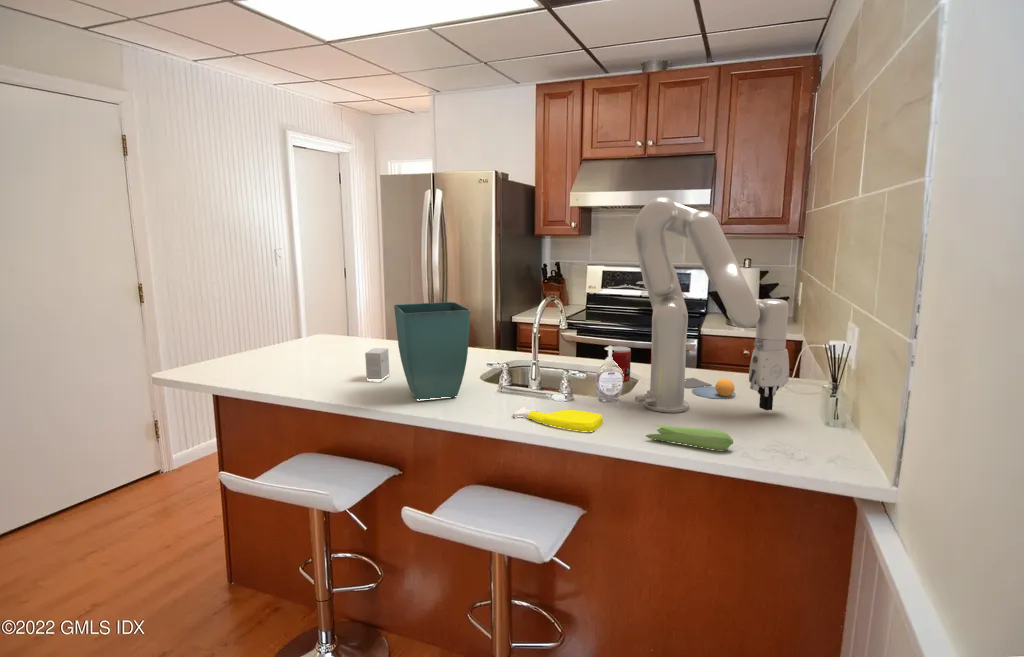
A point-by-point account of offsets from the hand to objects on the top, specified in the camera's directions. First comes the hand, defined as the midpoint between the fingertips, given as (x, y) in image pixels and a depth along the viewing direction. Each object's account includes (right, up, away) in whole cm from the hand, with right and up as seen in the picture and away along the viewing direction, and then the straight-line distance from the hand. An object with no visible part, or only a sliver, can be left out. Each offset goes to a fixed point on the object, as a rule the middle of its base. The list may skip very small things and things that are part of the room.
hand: (765, 408), depth 154 cm
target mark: (-7, +2, +21) cm, 22 cm away
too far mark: (-11, +4, +32) cm, 34 cm away
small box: (-118, +4, +41) cm, 125 cm away
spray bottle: (-59, -3, -4) cm, 59 cm away
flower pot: (-95, +1, +21) cm, 98 cm away
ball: (-5, +4, +17) cm, 18 cm away
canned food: (-34, +4, +38) cm, 51 cm away
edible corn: (-28, -6, -21) cm, 36 cm away
